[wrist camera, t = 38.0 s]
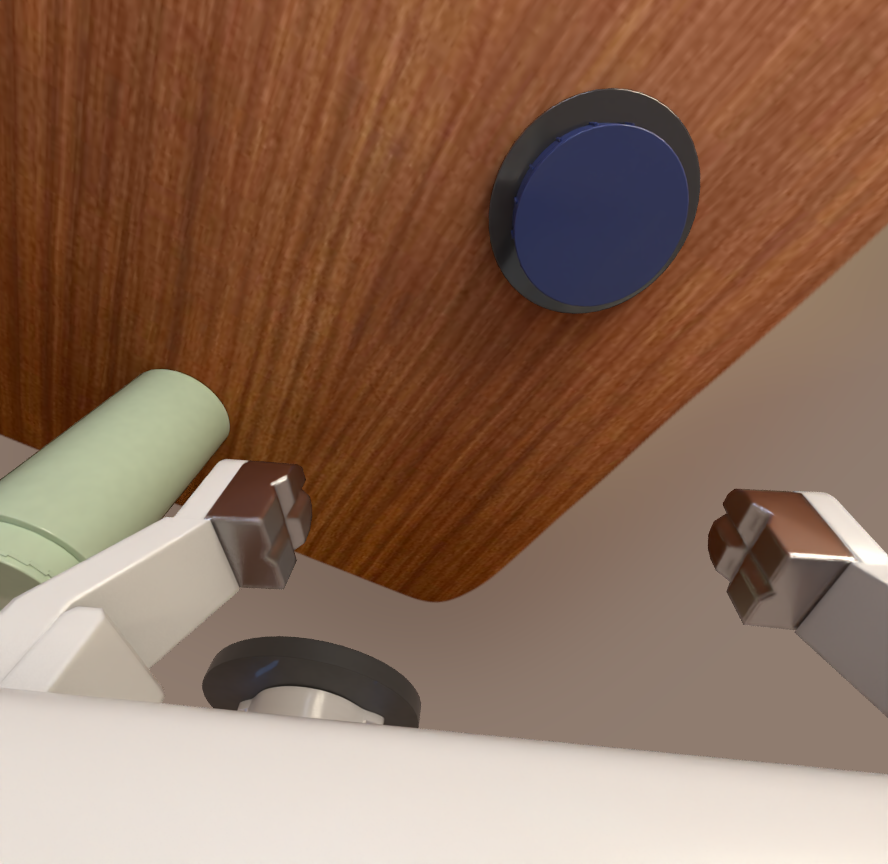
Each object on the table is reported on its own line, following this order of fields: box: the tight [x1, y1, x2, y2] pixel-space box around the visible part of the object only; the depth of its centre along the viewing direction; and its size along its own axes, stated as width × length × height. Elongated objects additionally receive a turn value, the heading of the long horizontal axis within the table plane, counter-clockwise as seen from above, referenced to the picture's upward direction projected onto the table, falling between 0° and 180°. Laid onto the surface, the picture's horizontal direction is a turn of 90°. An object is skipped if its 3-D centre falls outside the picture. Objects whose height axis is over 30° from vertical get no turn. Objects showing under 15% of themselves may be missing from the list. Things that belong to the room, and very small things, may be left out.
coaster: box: [489, 88, 700, 314], centre depth 20 cm, size 9×9×1 cm
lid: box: [511, 122, 689, 307], centre depth 19 cm, size 7×7×2 cm
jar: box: [0, 369, 230, 611], centre depth 24 cm, size 6×6×14 cm
